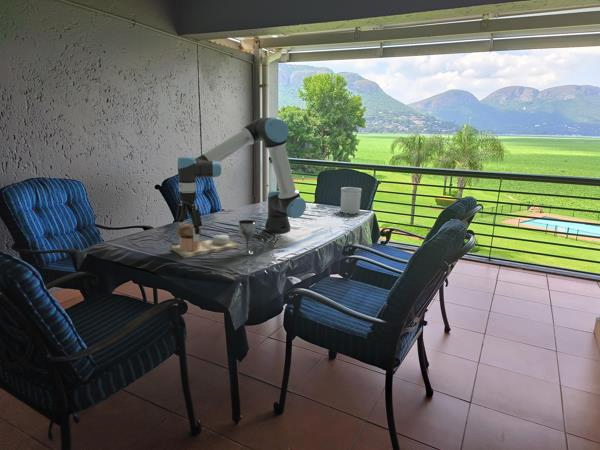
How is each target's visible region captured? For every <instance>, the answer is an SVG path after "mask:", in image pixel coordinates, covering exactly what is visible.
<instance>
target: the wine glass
mask: <svg viewBox="0 0 600 450" xmlns="http://www.w3.org/2000/svg"><path fill="white" fill-rule="evenodd" d="M256 226H257V221H256V220H253V219H242V220H238V230H239V233H240V236H242V238H244V240H245V243H246V244H245V245H246V249H243V250H240V251H239V254H241V255H245V256H248V255H249V256H250V255H254V254H255V253H256V252H255V251H254V250H252V249H249V242H250V239H251V238H252V237H253V236H254V235H255V233H256V228H257V227H256Z"/></svg>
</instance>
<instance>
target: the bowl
mask: <svg viewBox="0 0 600 450" xmlns="http://www.w3.org/2000/svg"><path fill="white" fill-rule="evenodd" d="M178 238H179V239H178V240H179V244H178V245H180V250H182V251H195V250H198V249H199V248H200V238H199V241H193V236H180V235H178Z"/></svg>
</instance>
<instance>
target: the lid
mask: <svg viewBox="0 0 600 450" xmlns="http://www.w3.org/2000/svg"><path fill="white" fill-rule="evenodd" d="M193 226H194V225H193V223H185V224H184V225H179V224H178V225H177V226H176V236H177V235H178V236H193ZM201 234H202V226H200V227H199V235H201Z"/></svg>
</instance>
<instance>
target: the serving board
mask: <svg viewBox="0 0 600 450" xmlns="http://www.w3.org/2000/svg"><path fill="white" fill-rule="evenodd" d="M239 248H240V244H239V243H237V242H235V241H233V240H231V239H229V244H226V245H215V244H213V238H212V239H207V240H201V241H200V248H199V249H198V250H195V251H182V250H180V244H178V245H172V246H171V250H172V251H173V252H175V253H177V254H178V255H180V257H183V258H184V259H185V258H187V259H188V258H191V257H196V256H202V255H207V254H212V253H216V252H222V251H228V250H234V249H239Z"/></svg>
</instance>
